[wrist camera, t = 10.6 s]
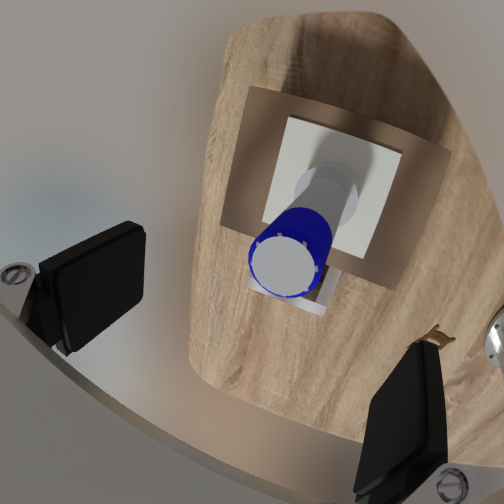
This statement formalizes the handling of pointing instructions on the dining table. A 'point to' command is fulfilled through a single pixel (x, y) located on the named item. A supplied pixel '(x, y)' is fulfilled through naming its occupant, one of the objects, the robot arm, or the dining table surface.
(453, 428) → the dining table surface
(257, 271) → the bolt
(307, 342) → the dining table surface
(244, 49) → the dining table surface
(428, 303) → the dining table surface
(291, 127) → the lid mat
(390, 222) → the wooden box
